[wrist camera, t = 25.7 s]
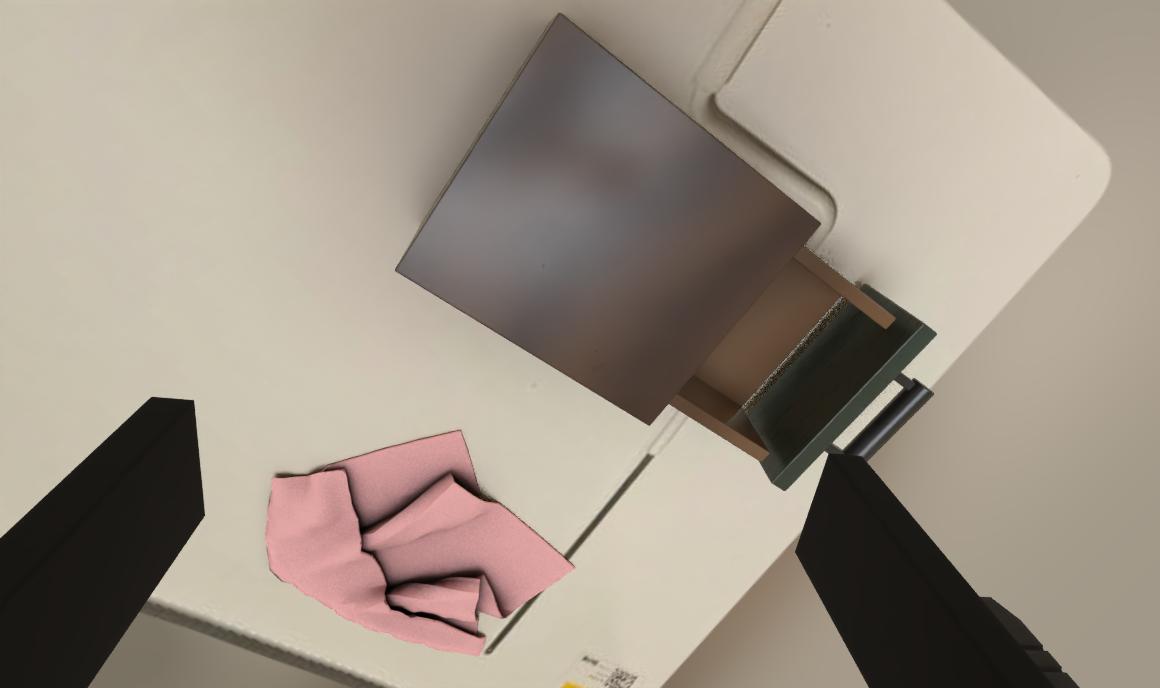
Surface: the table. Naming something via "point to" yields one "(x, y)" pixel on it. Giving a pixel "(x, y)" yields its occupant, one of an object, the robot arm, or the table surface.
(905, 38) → the table surface
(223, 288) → the table surface
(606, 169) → the cabinet
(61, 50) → the table surface
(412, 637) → the cloth
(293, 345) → the table surface
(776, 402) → the drawer
